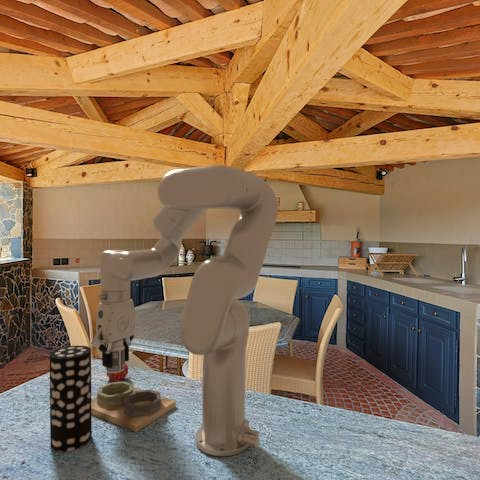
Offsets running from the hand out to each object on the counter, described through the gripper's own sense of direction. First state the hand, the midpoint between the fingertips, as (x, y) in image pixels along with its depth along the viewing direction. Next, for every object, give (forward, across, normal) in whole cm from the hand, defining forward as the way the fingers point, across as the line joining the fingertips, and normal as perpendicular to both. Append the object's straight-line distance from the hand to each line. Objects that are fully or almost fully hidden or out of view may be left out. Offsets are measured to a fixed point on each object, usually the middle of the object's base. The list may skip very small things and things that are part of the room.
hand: (115, 362), depth 97 cm
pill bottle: (+2, 0, 0) cm, 2 cm away
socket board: (+11, 0, -5) cm, 12 cm away
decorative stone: (+11, +11, +12) cm, 20 cm away
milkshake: (+11, +13, -22) cm, 28 cm away
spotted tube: (+11, -17, -5) cm, 21 cm away
